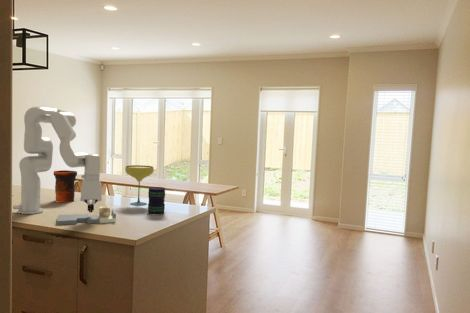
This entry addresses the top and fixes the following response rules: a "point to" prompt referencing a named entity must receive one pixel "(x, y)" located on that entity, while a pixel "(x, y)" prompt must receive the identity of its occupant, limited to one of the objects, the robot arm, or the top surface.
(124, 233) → the top surface
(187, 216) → the top surface
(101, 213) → the maple block
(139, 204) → the cocktail glass
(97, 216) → the trap board
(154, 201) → the storage jar
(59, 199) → the vessel
